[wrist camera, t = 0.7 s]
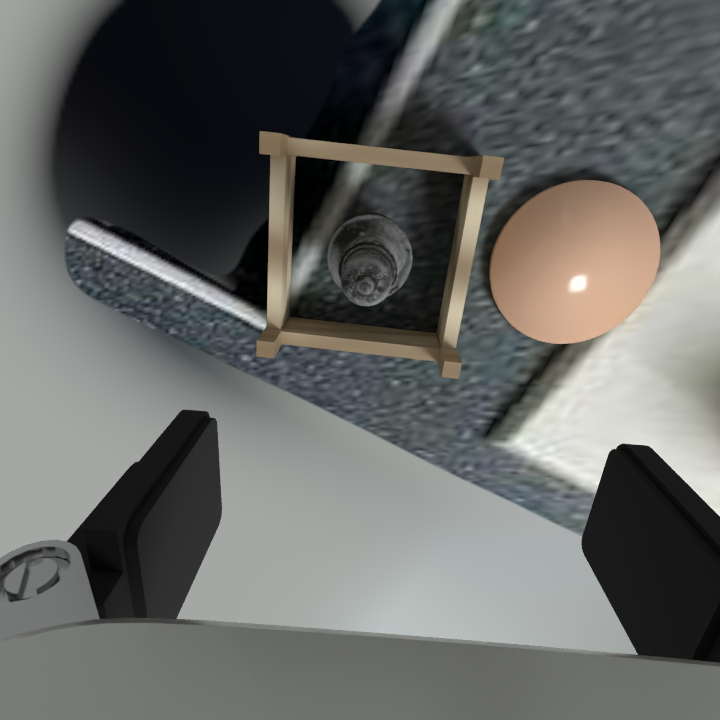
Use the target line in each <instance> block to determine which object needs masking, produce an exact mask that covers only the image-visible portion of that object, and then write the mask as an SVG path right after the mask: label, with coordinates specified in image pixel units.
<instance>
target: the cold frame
mask: <svg viewBox="0 0 720 720" xmlns="http://www.w3.org/2000/svg"><path fill="white" fill-rule="evenodd" d="M259 153H260V154H267V155H271V156H270V160H271V161H270V203H269V207H270V208H269V248H268V294H267V327H266V328H265V330H264V331H263V332H262V334H261V335H260V337H259V338H258V339H257V356H258V357H267V358H274V357H275V355H276V353H277V352H278V350H279V348H280V346H281V344H286V345H295V346H304V347H313V348H322V349H331V350H340V351H349V352H358V353H367V354H376V355H385V356H394V357H403V358H412V359H421V360H430V361H437V362H438V365H439V369H440V373H441V376H442V377H447V378H456V379H459V375H460V370H461V365H462V362H461V359H460V357H459V354H458V352H457V349H456V344H457V338H458V333H459V328H460V323H461V318H462V313H463V308H464V303H465V298H466V293H467V288H468V283H469V278H470V272H471V267H472V262H473V257H474V252H475V247H476V242H477V237H478V232H479V227H480V222H481V217H482V212H483V206H484V201H485V196H486V191H487V186H488V181H489V179H495V180H500V176H501V171H502V166H503V161H504V158H501V157H492V156H470V157H463V156H454V155H445V154H435V153H426V152H417V151H408V150H399V149H390V148H381V147H372V146H362V145H353V144H344V143H335V142H326V141H317V140H308V139H299V138H295V137H291V136H288V135H284V134H281V133H272V132H264V131H260V137H259ZM297 156H304V157H313V158H322V159H331V160H340V161H350V162H359V163H368V164H377V165H386V166H395V167H404V168H413V169H423V170H432V171H441V172H450V173H459V174H463V175H465V176H464V181H463V187H462V192H461V198H460V204H459V209H458V215H457V221H456V226H455V232H454V238H453V243H452V249H451V255H450V260H449V266H448V272H447V277H446V283H445V289H444V294H443V300H442V306H441V311H440V317H439V322H438V328H437V332H435V333H431V332H422V331H413V330H404V329H394V328H385V327H376V326H367V325H358V324H349V323H340V322H331V321H322V320H313V319H304V318H295V317H290V316H289V306H290V282H291V258H292V234H293V210H294V186H295V162H296V157H297Z"/></svg>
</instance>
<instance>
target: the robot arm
mask: <svg viewBox="0 0 720 720" xmlns="http://www.w3.org/2000/svg"><path fill="white" fill-rule="evenodd" d="M221 504H222V503H221V486H220V468H219V450H218V432H217V421H216V419H215V418H210V416H209V413H208V412H207V411H194V410H182V411H181V412H180V413H179V414H178V415H177V416H176V418H175V419H174V420H173V421H172V422H171V424H170V425H169V426H168V427H167V428H166V430H165V431H164V432H163V433H162V434H161V436H160V437H159V438H158V439H157V440H156V442H155V443H154V444H153V445H152V446H151V448H150V449H149V450H148V451H147V452H146V454H145V455H144V456H143V457H142V458H141V460H140V461H139V462H135V463H134V464H133V465H132V466H131V467H130V468H129V469H128V470H127V471H126V472H125V473H124V475H123V476H122V477H121V478H120V479H119V481H118V482H117V483H116V484H115V485H114V487H113V488H112V489H111V490H110V491H109V492H108V493H107V495H106V496H105V497H104V498H103V499H102V501H101V502H100V503H99V504H98V505H97V507H96V508H95V509H94V510H93V511H92V513H91V514H90V515H89V516H88V517H87V518H86V520H85V521H84V522H83V523H82V524H81V525H80V527H79V528H78V529H77V530H76V531H75V532H74V534H73V535H72V536H71V537H70V538H69V540H68V541H67V542H66V541H60V540H49V541H40V542H36V543H32V544H28V545H25V546H23V547H21V548H19V549H16V550H14V551H11V552H10V553H8V554H6V555H5V556H3V557H2V558H0V720H720V517H719V516H718V515H717V514H716V513H715V512H714V511H713V510H712V509H711V508H710V507H709V506H708V505H707V503H706V502H705V501H704V500H703V499H702V498H701V497H700V496H699V495H698V494H697V493H696V492H695V491H694V490H693V489H692V488H691V487H690V486H689V485H688V484H687V483H686V482H685V481H684V480H683V479H682V478H681V477H680V476H679V475H678V474H677V473H676V472H675V471H674V470H673V469H672V468H671V467H670V466H669V465H668V464H667V463H666V462H665V461H664V460H663V459H662V458H661V457H660V456H659V455H658V454H657V453H656V452H655V451H654V450H653V449H652V448H650V447H649V446H644V445H632V444H621V445H619V446H618V447H617V448H616V449H613V450H611V451H610V453H609V455H608V458H607V461H606V464H605V467H604V470H603V474H602V477H601V480H600V483H599V486H598V489H597V492H596V496H595V499H594V502H593V505H592V508H591V511H590V514H589V518H588V521H587V524H586V527H585V530H584V533H583V536H582V549H583V553H584V555H585V557H586V559H587V561H588V562H589V564H590V566H591V568H592V570H593V572H594V574H595V576H596V578H597V579H598V581H599V583H600V585H601V587H602V589H603V591H604V592H605V594H606V596H607V598H608V600H609V602H610V603H611V605H612V607H613V609H614V611H615V613H616V615H617V616H618V618H619V620H620V622H621V624H622V626H623V628H624V629H625V631H626V633H627V635H628V637H629V639H630V640H631V642H632V644H633V646H634V648H635V650H636V652H637V653H638V655H632V654H621V653H610V652H599V651H587V650H576V649H564V648H553V647H541V646H530V645H518V644H505V643H493V642H481V641H469V640H458V639H444V638H432V637H420V636H408V635H395V634H383V633H370V632H356V631H344V630H330V629H316V628H304V627H291V626H278V625H263V624H251V623H235V622H219V621H206V620H185V619H176V618H177V616H178V614H179V612H180V609H181V607H182V604H183V603H184V601H185V598H186V596H187V594H188V592H189V590H190V587H191V585H192V583H193V581H194V579H195V576H196V574H197V572H198V570H199V568H200V565H201V563H202V561H203V559H204V556H205V554H206V552H207V550H208V548H209V546H210V543H211V541H212V539H213V537H214V535H215V532H216V530H217V528H218V526H219V523H220V519H221V514H222V505H221Z"/></svg>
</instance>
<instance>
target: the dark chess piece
mask: <svg viewBox="0 0 720 720" xmlns="http://www.w3.org/2000/svg"><path fill="white" fill-rule="evenodd" d="M412 259H413V256H412V249H411V245H410V242H409V240H408V237H407V235H406V234H405V233H404V231H403V230H402V229H401V228H400V226H398V225H397V224H396V223H394V222H393V221H392V220H390V219H388V218H386V217H384V216H381V215H377V214H366V215H360V216H356V217H354V218H352V219H350V220H348V221H346V222H345V223H344V224H343V225H342V226H341V227H339V228H338V229H337V231H336V232H335V234H334V235H333V237H332V238H331V241H330V244H329V247H328V254H327V263H328V267H329V272H330V274H331V276H332V278H333V280H334V282H335V283H336V284H337V285H338V286H339V288H340V289H341V290H342V291H343V292H344V294H345V295H346V296H347V297H348V299H349V300H350V301H352V302H353V303H355V304H358V305H360V306H373V305H376V304H378V303H380V302H381V301H383V300H384V299H385V298H386V297H387V296H390V295H392V294H393V293H394V292H396V291H397V290H398V289H399V288H401V286H402V285H403V284H404V282H405V281H406V280H407V278H408V275H409V273H410V270H411V266H412Z"/></svg>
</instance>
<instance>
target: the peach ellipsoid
mask: <svg viewBox="0 0 720 720" xmlns="http://www.w3.org/2000/svg"><path fill="white" fill-rule="evenodd" d="M659 259H660V239H659V232H658V229H657V225H656V222H655V220H654V218H653V216H652V214H651V212H650V211H649V209H648V208H647V207H646V205H645V204H644V203H643V202H642V201H641V200H640V199H639V198H638V197H637V196H635V195H634V194H633V193H632V192H630V191H628V190H627V189H625V188H623V187H621V186H618V185H615V184H612V183H609V182H603V181H597V180H576V181H569V182H564V183H560V184H557V185H554V186H552V187H549V188H547V189H545V190H543V191H541V192H539V193H537V194H536V195H534V196H533V197H531V198H530V199H528V200H527V201H526V202H525V203H523V204H522V205H521V206H520V207H519V208H518V209H517V210H516V211H515V212H514V213H513V214H512V215H511V216H510V218H509V219H508V220H507V222H506V223H505V224H504V226H503V228H502V229H501V231H500V233H499V235H498V237H497V239H496V241H495V244H494V246H493V250H492V253H491V257H490V264H489V282H490V288H491V292H492V296H493V298H494V301H495V303H496V305H497V307H498V308H499V310H500V312H501V313H502V314H503V316H504V317H505V318H506V319H507V320H508V322H509V323H510V324H511V325H512V326H514V327H515V328H516V329H517V330H518V331H520V332H522V333H523V334H525V335H527V336H529V337H531V338H533V339H536V340H539V341H542V342H548V343H557V344H566V343H576V342H581V341H585V340H588V339H592V338H595V337H597V336H599V335H602V334H604V333H606V332H607V331H609V330H611V329H613V328H614V327H616V326H617V325H618V324H620V323H621V322H623V321H624V320H625V319H626V318H627V317H628V316H629V315H631V314H632V312H633V311H634V310H635V309H636V308H637V307H638V306H639V305H640V303H641V302H642V300H643V299H644V298H645V296H646V295H647V293H648V291H649V289H650V288H651V285H652V283H653V281H654V278H655V276H656V272H657V269H658V265H659Z"/></svg>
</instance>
